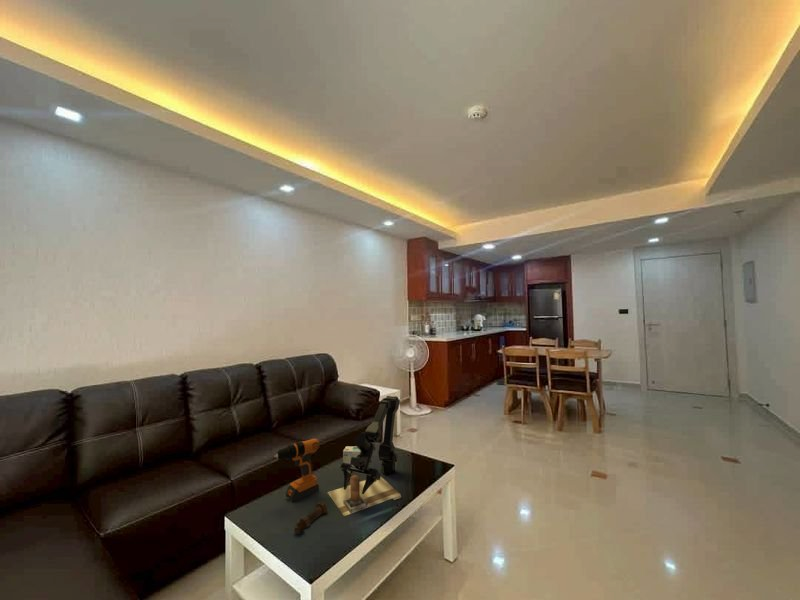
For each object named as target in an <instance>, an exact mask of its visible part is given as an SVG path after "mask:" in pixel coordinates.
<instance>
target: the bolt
mask: <svg viewBox="0 0 800 600" xmlns="http://www.w3.org/2000/svg"><path fill="white" fill-rule="evenodd" d="M327 512H328V507H327V505H326V503H324V502H323V501H319V502H317V504H316V505H315V508H314V510H313V511H311V512H310V513H309V514H308V515H302V516H301V518H299V522H298V523H296V524H295V526H294V527H293V531H294V533H295V534H298V535H299V534H300V533H301V532H303V531H304V530H305V529H308V528H309V527H310V526H311V524H312V523H313V522H314V521H315V520H316V519H318V518H319V517H320V516H322V515H325V514H326V513H327Z"/></svg>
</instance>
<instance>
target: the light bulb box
mask: <svg viewBox="0 0 800 600" xmlns="http://www.w3.org/2000/svg"><path fill="white" fill-rule="evenodd" d="M360 452H361V451H360V450H359V449H358V448H357V447H356V446H348V445H347V446H345V448H344V449H343V450H342V456H343V457H342V458H343V459H342V461H343V462H342V463H348V464H350V462H351V457H357V455H360ZM351 466H352V467H355V466H353V465H351Z"/></svg>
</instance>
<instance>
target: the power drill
mask: <svg viewBox="0 0 800 600" xmlns="http://www.w3.org/2000/svg"><path fill="white" fill-rule="evenodd" d="M319 447H320V441H319V439H317V438H311V439H308V440H304V441H299V442H295V443H292V444H290V445H287V446H286V447H283V448H281V449H278V450H277V452H276V454H275V455H274V456H273V457H274V458H276V459H277V460H279V461H283V460H284V461H285V460H288V459H290V460H292V461H293V462H295V463H294V466H297V467H300V469H299V470H300V473H301V478H298V479H296V480H294V481H292V482H290V483H289V485H288V486H287V489H286V492H285V497H286V498H287V499H288V500H290V501H291V502H296V501H298V500H300V499H303V498H305V497H307V496H310V495H312V494H314V493H315V492H316V493H317V492H319V490H320V486H319V484H318V478H317V476H316V475H314V474H313V463H312V460H311V456H312V455H313V454H316V452H317V450H319Z"/></svg>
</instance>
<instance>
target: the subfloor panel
mask: <svg viewBox="0 0 800 600" xmlns="http://www.w3.org/2000/svg"><path fill="white" fill-rule="evenodd" d="M365 482H366V479H364V480H361V481H360V505H358V506H355V507H351V506H350V499H351V489H350V484H348V486H347V488H346V490H344V486H343V487H340V488H337V489H334V490H331V491H328V492H327V494H328V495H329V497H330V498H331V500H332V501H333V503H334V504H335V506H336V507H337V508H338V509H339V511H340V512H341V514H342V515H343V517H345V516H348V515H351V514H354V513H357V512H359V511H363V510H366V509H367V508H370V507H373V506H376V505H378V504H382V503H383V502H387V501H390V500H392V499H393V500H394V501H396V500H398V499H401V498H402V495H401V493H400V492H399V491H397V490H396V489H395V488H394V487H393V486H392V485H390V483H389V482H387V480H386V479H384V478H383V477H382V476H381V477H380V480H377V481H376V482H374V483H373V484H372V485H371V486H370V487H369V488H368V489H367V490H366V492H365V493H364V494H362V490H363V487H364V485H365Z"/></svg>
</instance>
